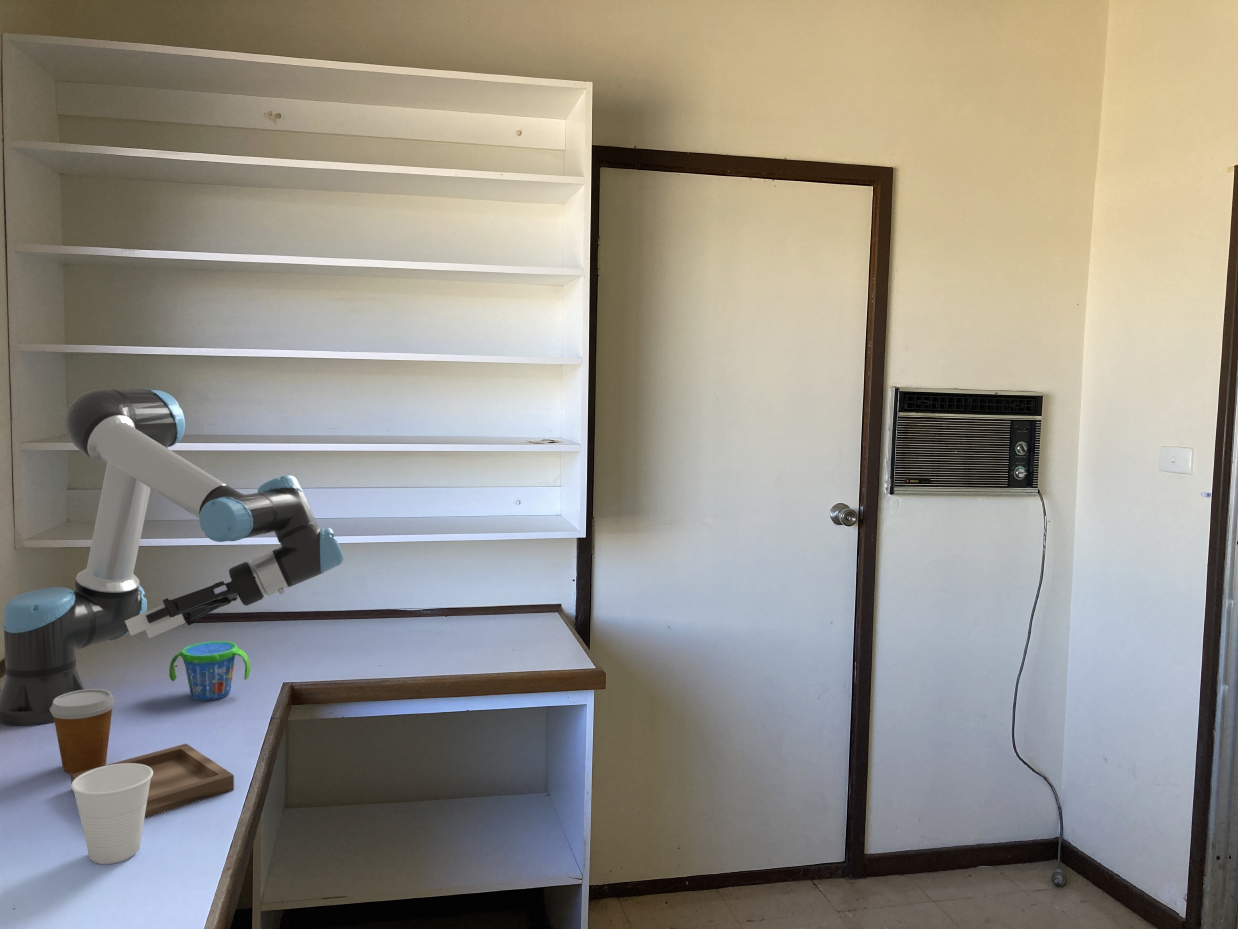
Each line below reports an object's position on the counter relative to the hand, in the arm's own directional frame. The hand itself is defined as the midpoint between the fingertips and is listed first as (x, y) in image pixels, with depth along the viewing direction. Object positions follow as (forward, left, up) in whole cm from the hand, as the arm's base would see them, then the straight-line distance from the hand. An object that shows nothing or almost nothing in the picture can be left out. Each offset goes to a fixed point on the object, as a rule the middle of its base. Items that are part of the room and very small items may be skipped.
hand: (137, 630), depth 162 cm
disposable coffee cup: (+2, -10, -22) cm, 24 cm away
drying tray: (+19, -5, -21) cm, 29 cm away
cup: (+36, -17, -22) cm, 45 cm away
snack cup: (-18, +20, -22) cm, 35 cm away
